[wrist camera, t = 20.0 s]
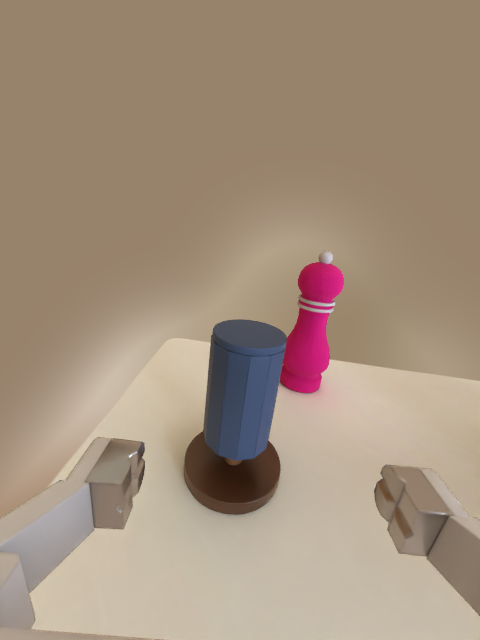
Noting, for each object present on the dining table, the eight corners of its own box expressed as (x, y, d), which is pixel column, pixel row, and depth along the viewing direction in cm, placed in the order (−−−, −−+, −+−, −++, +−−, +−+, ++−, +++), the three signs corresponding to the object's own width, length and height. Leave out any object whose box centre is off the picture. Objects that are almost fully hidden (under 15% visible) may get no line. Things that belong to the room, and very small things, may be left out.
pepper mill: (330, 383, 42) (363, 255, 36) (309, 402, 37) (344, 255, 30) (290, 365, 47) (314, 247, 40) (267, 379, 41) (289, 246, 35)
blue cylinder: (237, 405, 28) (248, 315, 25) (280, 437, 24) (301, 337, 21) (191, 429, 24) (197, 326, 21) (235, 472, 20) (251, 356, 17)
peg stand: (234, 421, 32) (248, 314, 27) (297, 473, 26) (328, 347, 21) (165, 460, 26) (169, 330, 21) (228, 540, 20) (251, 383, 15)
